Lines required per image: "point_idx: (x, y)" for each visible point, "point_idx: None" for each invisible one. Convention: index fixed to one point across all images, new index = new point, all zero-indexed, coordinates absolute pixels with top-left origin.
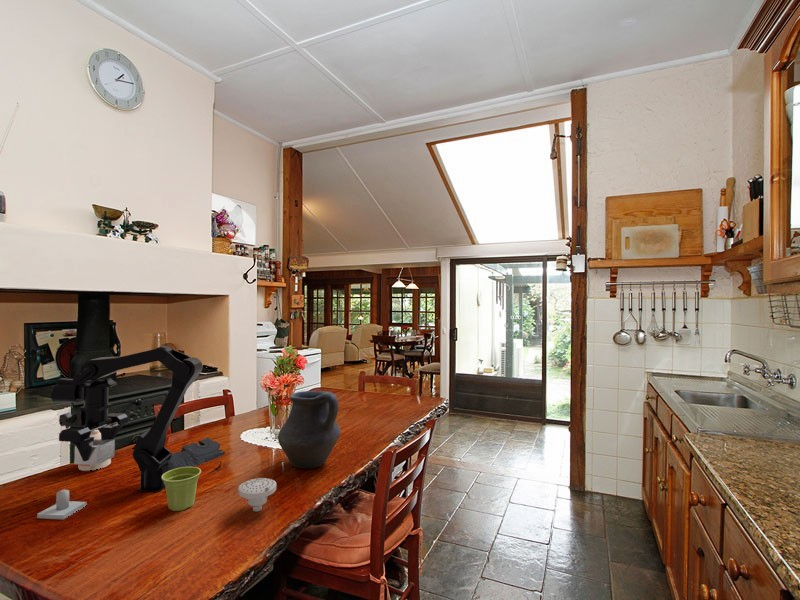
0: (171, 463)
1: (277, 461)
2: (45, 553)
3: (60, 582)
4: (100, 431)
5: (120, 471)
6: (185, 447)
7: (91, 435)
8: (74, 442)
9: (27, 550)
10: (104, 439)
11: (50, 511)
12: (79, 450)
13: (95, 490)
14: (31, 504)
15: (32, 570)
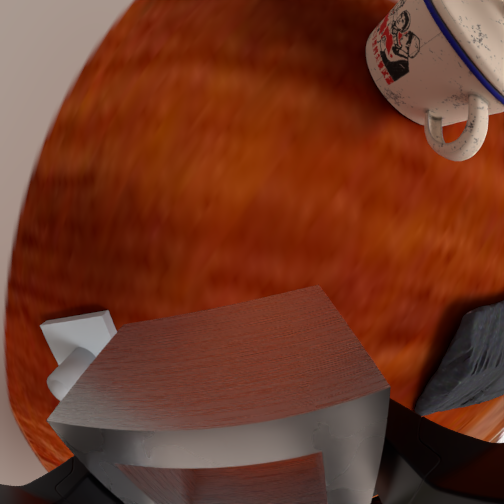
0: (446, 396)
1: None
2: (43, 433)
3: None
4: (453, 500)
5: (417, 231)
6: None
7: (495, 11)
8: (13, 495)
9: (26, 405)
10: (363, 488)
11: (61, 347)
12: (78, 463)
13: None
14: (69, 202)
15: (32, 439)
